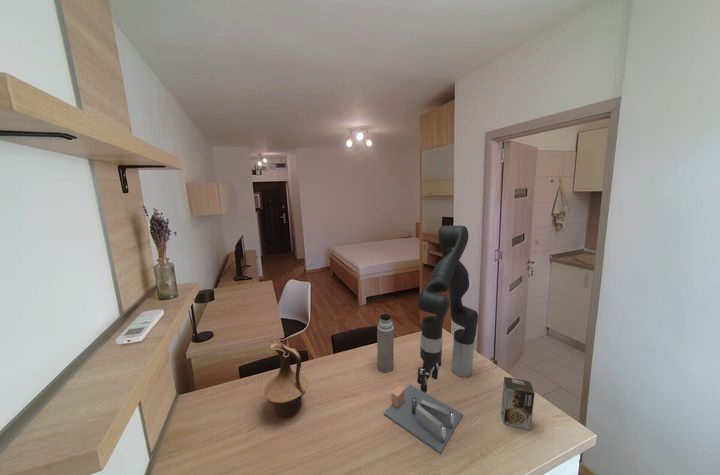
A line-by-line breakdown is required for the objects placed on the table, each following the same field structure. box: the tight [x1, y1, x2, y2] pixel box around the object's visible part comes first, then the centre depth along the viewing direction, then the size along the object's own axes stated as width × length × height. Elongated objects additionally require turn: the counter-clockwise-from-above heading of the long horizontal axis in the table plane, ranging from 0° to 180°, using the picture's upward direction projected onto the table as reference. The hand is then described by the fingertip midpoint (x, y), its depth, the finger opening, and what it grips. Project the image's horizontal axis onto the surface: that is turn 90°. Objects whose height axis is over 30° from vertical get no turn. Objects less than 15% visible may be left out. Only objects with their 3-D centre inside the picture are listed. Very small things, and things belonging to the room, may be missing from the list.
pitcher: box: [264, 342, 309, 419], centre depth 107 cm, size 18×17×28 cm
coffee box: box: [500, 376, 535, 431], centre depth 101 cm, size 9×6×16 cm
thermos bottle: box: [376, 313, 395, 374], centre depth 130 cm, size 8×8×28 cm
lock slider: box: [391, 385, 406, 408], centre depth 110 cm, size 3×5×6 cm, turn 138°
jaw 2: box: [415, 405, 446, 443], centre depth 98 cm, size 12×2×6 cm, turn 38°
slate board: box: [383, 384, 464, 455], centre depth 105 cm, size 20×24×1 cm
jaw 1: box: [420, 399, 454, 429], centre depth 102 cm, size 12×2×6 cm, turn 58°
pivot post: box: [412, 397, 417, 414], centre depth 105 cm, size 2×2×6 cm
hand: (429, 384), depth 98 cm, fingers open, 8 cm apart
